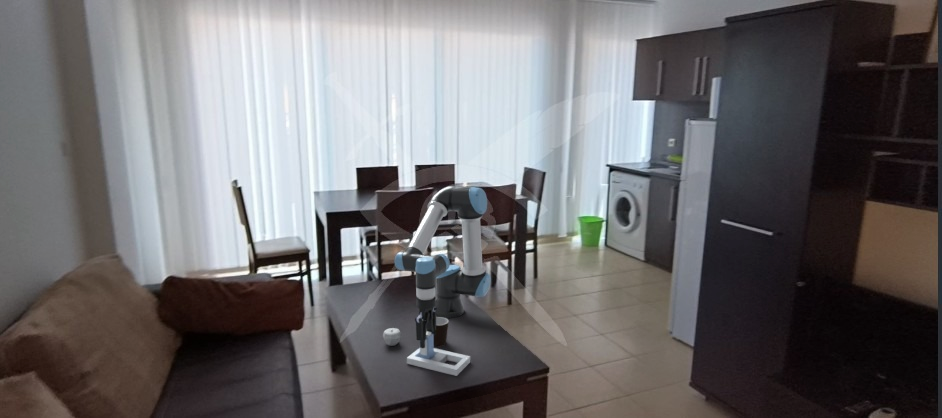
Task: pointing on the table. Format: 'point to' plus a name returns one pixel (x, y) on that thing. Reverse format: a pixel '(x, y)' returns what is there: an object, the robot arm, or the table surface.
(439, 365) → the panel
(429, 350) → the plug
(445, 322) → the coffee mug
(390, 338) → the apple
